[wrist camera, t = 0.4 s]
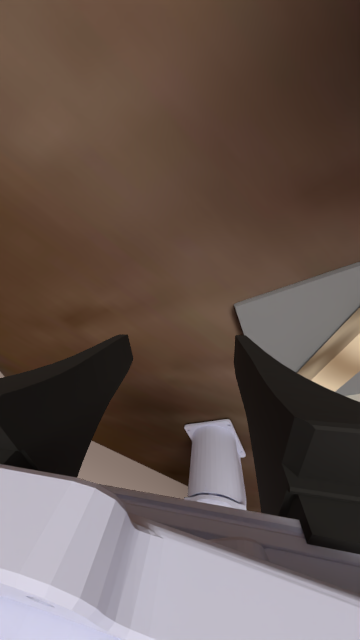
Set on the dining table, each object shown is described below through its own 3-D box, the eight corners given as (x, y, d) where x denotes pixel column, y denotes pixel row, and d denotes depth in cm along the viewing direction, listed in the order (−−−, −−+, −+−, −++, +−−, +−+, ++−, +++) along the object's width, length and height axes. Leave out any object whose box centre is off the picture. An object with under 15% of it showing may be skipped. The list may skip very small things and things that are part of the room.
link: (293, 409, 23) (305, 431, 20) (269, 398, 23) (277, 419, 20) (414, 298, 15) (458, 310, 13) (378, 283, 15) (415, 291, 13)
